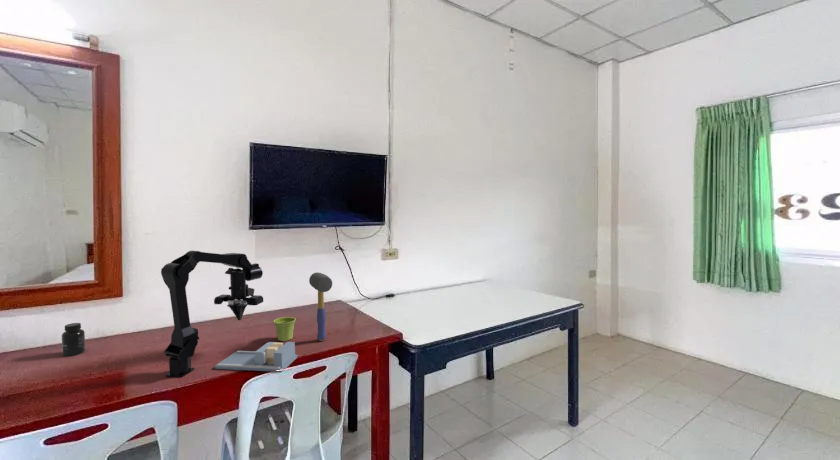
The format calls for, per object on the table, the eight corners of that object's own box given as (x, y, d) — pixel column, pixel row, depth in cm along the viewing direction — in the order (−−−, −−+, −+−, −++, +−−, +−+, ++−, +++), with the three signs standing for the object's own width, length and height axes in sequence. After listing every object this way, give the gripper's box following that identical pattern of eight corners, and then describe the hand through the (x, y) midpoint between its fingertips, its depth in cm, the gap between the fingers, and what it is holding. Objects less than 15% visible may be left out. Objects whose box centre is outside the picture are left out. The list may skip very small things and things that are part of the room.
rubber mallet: (309, 337, 169) (307, 272, 167) (325, 334, 173) (324, 270, 171) (318, 346, 158) (316, 276, 156) (334, 342, 163) (333, 275, 160)
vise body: (282, 371, 135) (281, 354, 134) (214, 368, 137) (213, 351, 137) (297, 357, 148) (297, 341, 147) (235, 354, 150) (235, 338, 150)
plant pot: (274, 336, 170) (273, 318, 169) (295, 334, 173) (295, 315, 173) (273, 344, 161) (273, 324, 161) (296, 341, 165) (296, 321, 164)
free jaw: (264, 365, 137) (263, 352, 137) (255, 365, 137) (254, 352, 137) (277, 354, 147) (276, 342, 146) (268, 354, 147) (268, 341, 147)
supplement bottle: (58, 357, 147) (56, 328, 146) (69, 351, 154) (67, 322, 153) (79, 355, 149) (77, 326, 148) (89, 349, 156) (87, 321, 155)
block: (275, 364, 139) (275, 348, 138) (266, 364, 139) (266, 348, 138) (283, 357, 144) (283, 342, 144) (274, 357, 145) (274, 342, 144)
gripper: (269, 279, 162) (270, 314, 163) (229, 278, 164) (230, 313, 165) (255, 285, 150) (256, 323, 152) (212, 284, 153) (214, 321, 154)
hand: (239, 320), depth 156 cm, fingers closed
